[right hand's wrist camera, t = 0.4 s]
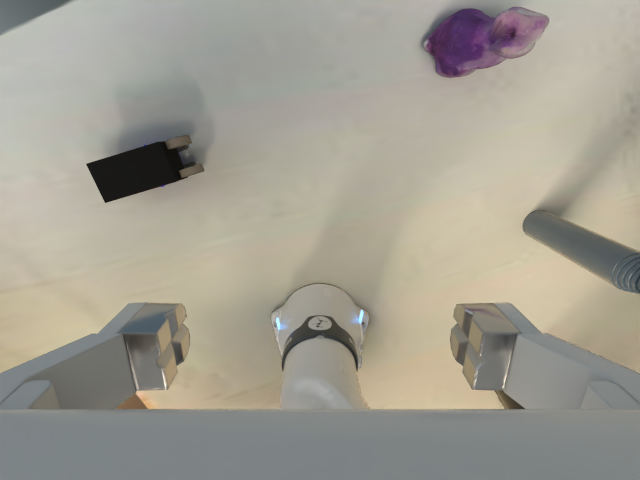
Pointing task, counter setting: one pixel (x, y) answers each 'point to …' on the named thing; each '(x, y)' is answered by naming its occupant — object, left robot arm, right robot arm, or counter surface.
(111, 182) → the figurine character
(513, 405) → the left robot arm
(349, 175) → the counter surface
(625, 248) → the bottle
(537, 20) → the figurine
